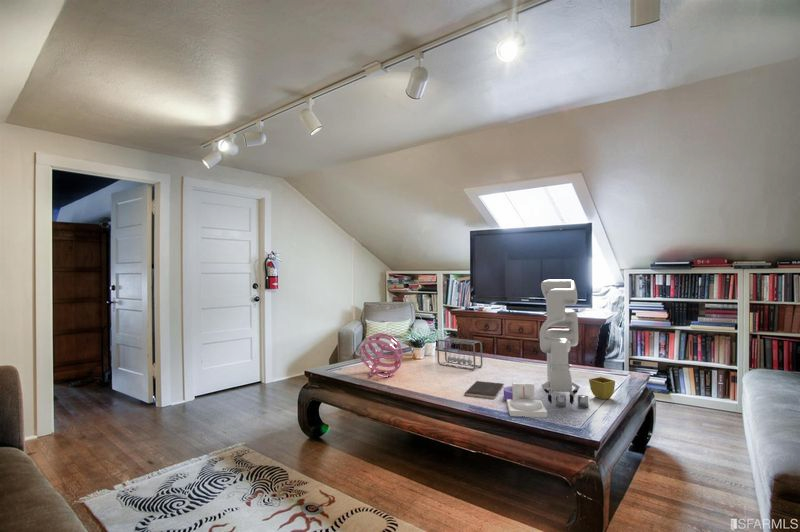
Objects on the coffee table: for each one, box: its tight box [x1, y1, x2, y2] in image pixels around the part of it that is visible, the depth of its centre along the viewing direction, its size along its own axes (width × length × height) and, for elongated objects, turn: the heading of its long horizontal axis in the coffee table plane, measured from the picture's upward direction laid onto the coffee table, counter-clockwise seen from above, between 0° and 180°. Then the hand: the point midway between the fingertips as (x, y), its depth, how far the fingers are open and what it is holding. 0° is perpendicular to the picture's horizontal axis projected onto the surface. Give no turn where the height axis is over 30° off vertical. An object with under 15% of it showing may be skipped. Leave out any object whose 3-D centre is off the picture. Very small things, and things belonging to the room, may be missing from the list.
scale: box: [506, 382, 548, 418], centre depth 190 cm, size 18×16×10 cm
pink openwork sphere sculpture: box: [358, 332, 404, 378], centre depth 258 cm, size 28×28×27 cm
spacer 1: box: [554, 393, 567, 409], centre depth 193 cm, size 5×5×5 cm
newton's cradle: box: [436, 337, 483, 370], centre depth 278 cm, size 30×10×18 cm, turn 49°
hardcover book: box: [464, 380, 505, 399], centre depth 220 cm, size 16×23×2 cm
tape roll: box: [502, 385, 513, 401], centre depth 206 cm, size 12×12×5 cm
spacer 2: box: [577, 394, 590, 409], centre depth 192 cm, size 5×5×5 cm
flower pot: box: [588, 376, 616, 400], centre depth 204 cm, size 9×9×9 cm
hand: (560, 403), depth 193 cm, fingers open, 9 cm apart
